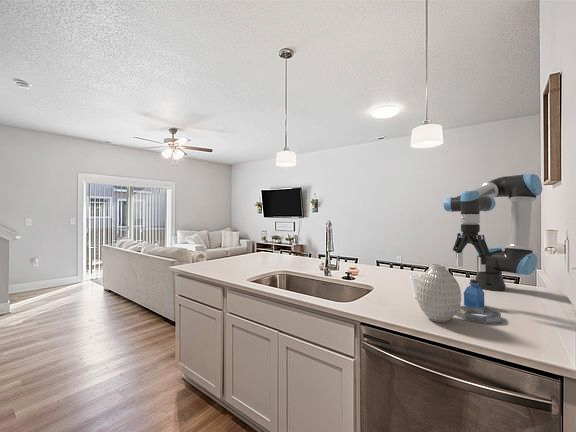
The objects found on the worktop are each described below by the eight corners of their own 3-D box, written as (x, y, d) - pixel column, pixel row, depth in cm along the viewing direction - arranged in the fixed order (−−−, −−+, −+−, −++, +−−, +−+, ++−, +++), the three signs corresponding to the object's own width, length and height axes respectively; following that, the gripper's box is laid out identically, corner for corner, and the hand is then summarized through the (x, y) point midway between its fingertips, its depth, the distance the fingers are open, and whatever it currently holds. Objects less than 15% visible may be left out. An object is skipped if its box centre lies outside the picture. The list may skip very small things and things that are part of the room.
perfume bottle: (478, 308, 126) (478, 282, 126) (464, 305, 132) (463, 279, 131) (484, 305, 130) (484, 280, 130) (469, 302, 135) (469, 277, 135)
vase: (466, 319, 114) (465, 264, 114) (454, 330, 103) (454, 270, 103) (424, 309, 126) (424, 260, 125) (410, 319, 114) (409, 265, 114)
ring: (478, 309, 125) (478, 303, 125) (510, 322, 110) (510, 315, 110) (447, 311, 123) (447, 304, 123) (475, 324, 108) (475, 317, 108)
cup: (434, 301, 136) (434, 279, 136) (412, 300, 138) (412, 278, 138) (428, 296, 146) (428, 275, 146) (408, 295, 148) (407, 274, 148)
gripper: (444, 223, 143) (445, 264, 143) (484, 224, 119) (484, 274, 119) (458, 222, 144) (458, 263, 144) (500, 224, 120) (500, 273, 120)
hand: (470, 268), depth 132 cm, fingers open, 13 cm apart
